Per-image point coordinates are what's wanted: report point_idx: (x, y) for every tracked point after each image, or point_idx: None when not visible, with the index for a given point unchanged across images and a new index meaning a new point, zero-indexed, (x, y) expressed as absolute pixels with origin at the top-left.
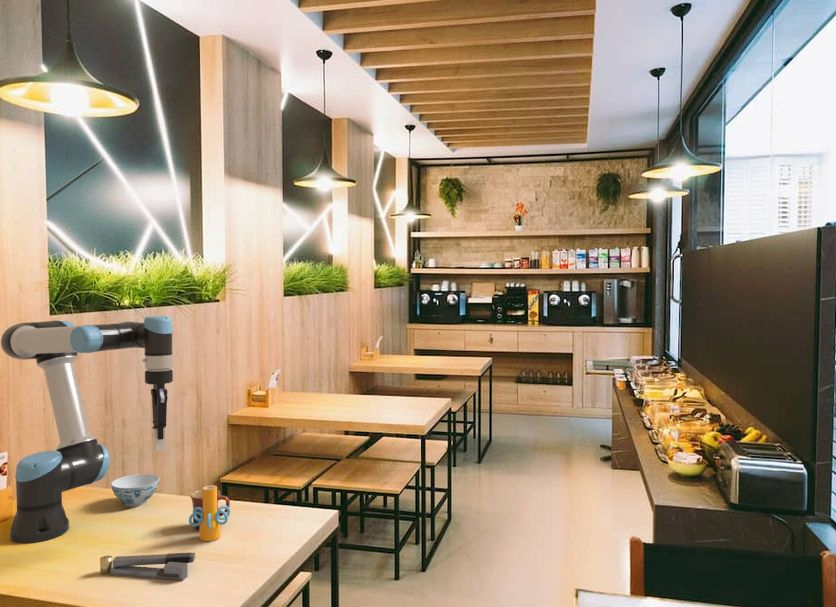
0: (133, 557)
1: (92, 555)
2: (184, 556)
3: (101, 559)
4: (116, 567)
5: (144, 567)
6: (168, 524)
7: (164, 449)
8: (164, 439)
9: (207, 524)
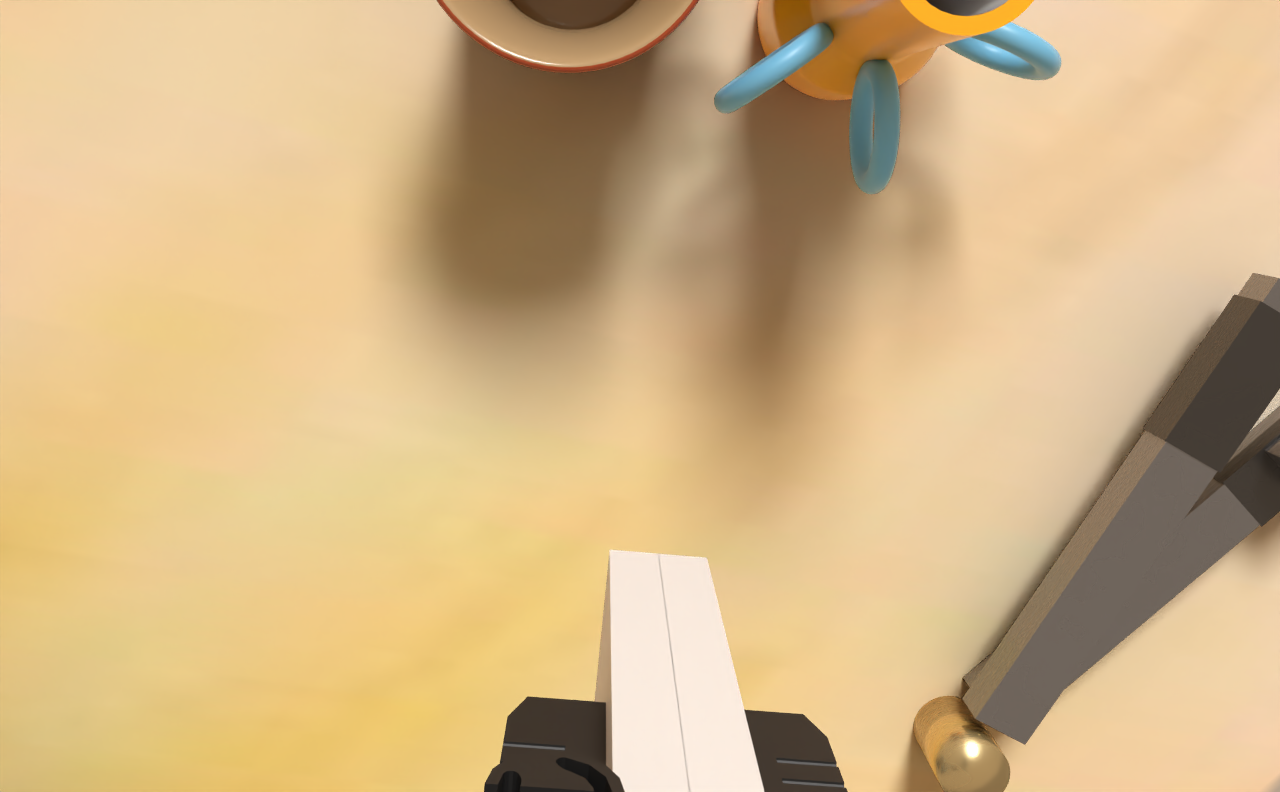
0: (1066, 634)
1: None
2: None
3: None
4: None
5: None
6: (358, 211)
7: (702, 569)
8: (725, 658)
9: (1041, 79)
